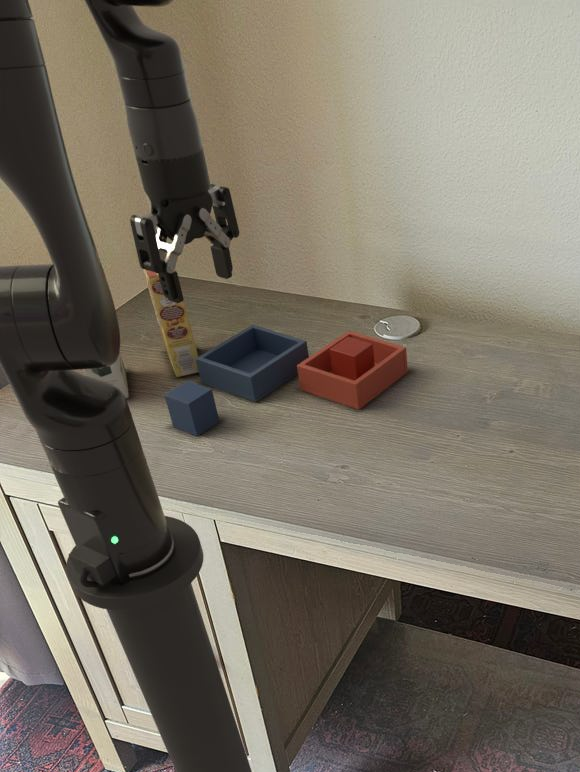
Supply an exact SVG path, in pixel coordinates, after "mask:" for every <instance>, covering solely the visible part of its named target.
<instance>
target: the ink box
mask: <svg viewBox="0 0 580 772" xmlns="http://www.w3.org/2000/svg"><path fill="white" fill-rule="evenodd" d="M82 371H83V373H84V374H83V375H86V376H89V377H92V378H95V379H98V380H102V381H105V382H107V383H110V384H112V385H114V386H115V387H117V388H118V389H119V390H120V391H121V392H122V393H123V394H124V396H125V398H126V399H129V397H130V395H129V387H128V379H127V378H128V377H127V371H126V368H125V364H124V361H123V359H122V355H121V351H120V352H119V356H118V358H117V360H116V362H115V363H114V364H112V365H110V366H108V367H103V368H92V369H82Z"/></svg>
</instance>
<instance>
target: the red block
mask: <svg viewBox="0 0 580 772" xmlns="http://www.w3.org/2000/svg"><path fill="white" fill-rule="evenodd" d="M330 355H331V362H332V370H333V374H335V375H338V376H341V377H345V378H348V379H351V380H354V381H355V380H357V379H358V378H359V377H361V376H362V375H363V374H365V373H366V372H368V371H369V370H370V369H372V368H373V367H374V366H375V363H374V352H373V344H371V343H368V342H365V341H361V340H358V339H355V338H351V337H347V338H345V339H344V340H342V341H341V342H339V343H338V344H336V345H335V346H333V347H332V348H331V349H330Z"/></svg>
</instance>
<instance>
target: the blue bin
mask: <svg viewBox="0 0 580 772" xmlns="http://www.w3.org/2000/svg"><path fill="white" fill-rule="evenodd" d="M308 347H309V346H308V341H307V340H304V339H301V338H299V337H294V336H291V335H288V334H285V333H283V332H282V333H281V332H279V331H275V330H272V329H269V328H266V327H263V326H259V325H256V324H250V325H249V326H248V327H246V328H244V329H243V330H240V331H239V332H238V333H236V334H234V335H232V336H231V337H229V338H228V339H225V340H224V341H222V342H221V343H219V344H217V345H215V346H213V347H212V348H210V349H209V350H207V351H205V352H203V353H202V354H201V355H198V357H197V358H196V363H197V367H198V371H199V373H198V375H199V378H200V382H201V384H202V385H206V386H209V387H211V388H213V389H217V390H220V391H222V392H225V393H228V394H231V395H234V396H237V397H240V398H243V399H245V400H248V401H250V402H253V403H257V402H258V401H260V400H261V399H263V398H264V397H266V396H267V395H269V394H271V393H272V392H274V391H275V390H276V389H278V388H279V387H280V386H283V385H284V384H285V383H287V382H288V381H290V380H291V379H292V378H294V377H296V376H297V375H298V369H297V365H298V364H300V363H301V362H303V361H304V360H306V359H307V358H309V357H310V356H309V355H310V354H309V348H308Z"/></svg>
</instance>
